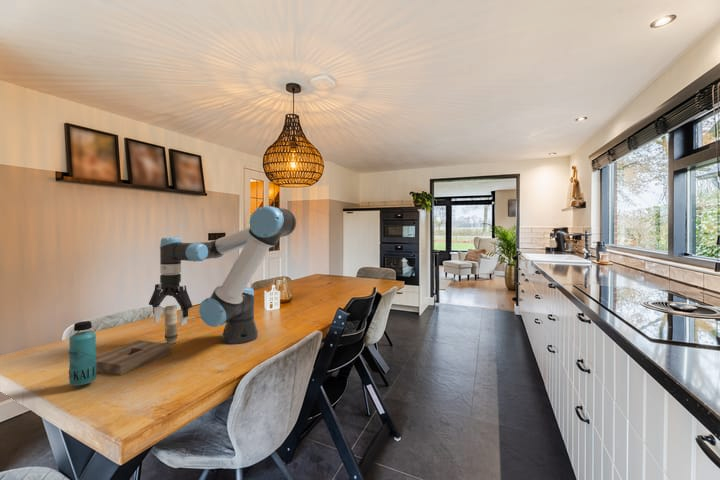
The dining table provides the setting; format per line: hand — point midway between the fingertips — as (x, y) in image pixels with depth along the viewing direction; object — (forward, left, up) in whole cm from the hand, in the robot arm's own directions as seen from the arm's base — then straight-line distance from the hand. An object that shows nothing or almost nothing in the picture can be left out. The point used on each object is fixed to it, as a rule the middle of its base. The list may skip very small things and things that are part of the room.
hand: (170, 323), depth 132 cm
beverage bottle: (-4, +36, -9) cm, 38 cm away
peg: (0, 0, -9) cm, 9 cm away
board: (0, +18, -9) cm, 20 cm away
